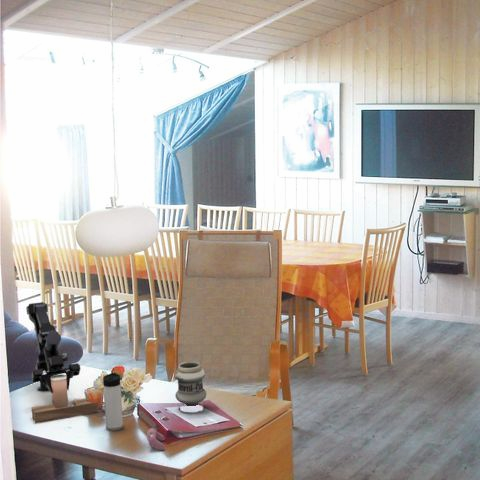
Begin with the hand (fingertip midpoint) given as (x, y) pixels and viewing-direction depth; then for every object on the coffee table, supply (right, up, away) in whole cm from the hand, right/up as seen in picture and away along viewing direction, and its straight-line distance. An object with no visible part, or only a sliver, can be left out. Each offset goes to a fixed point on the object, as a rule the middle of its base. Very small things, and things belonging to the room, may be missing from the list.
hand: (60, 391), depth 320 cm
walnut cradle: (+3, -8, -6) cm, 10 cm away
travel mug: (+25, -10, -21) cm, 34 cm away
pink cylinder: (0, -6, +2) cm, 7 cm away
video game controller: (+42, -12, -39) cm, 58 cm away
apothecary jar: (+52, -6, -4) cm, 53 cm away
